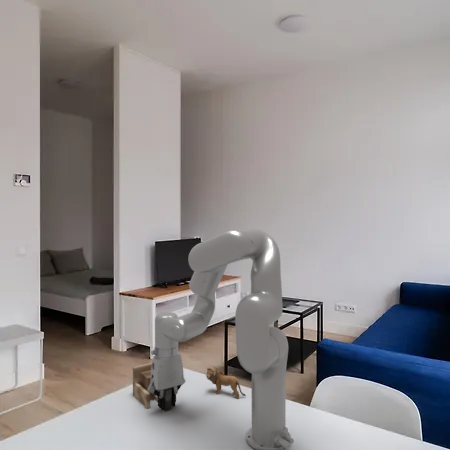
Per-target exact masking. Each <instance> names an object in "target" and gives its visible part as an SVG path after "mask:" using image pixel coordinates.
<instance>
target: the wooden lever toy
mask: <svg viewBox="0 0 450 450" xmlns="http://www.w3.org/2000/svg"><path fill="white" fill-rule="evenodd" d="M150 382H151V370H149V371H145V372H141V373H140V385H141V386H142V387H143V388H144V389H145V390H146V391H147V389H148V387H149V385H150ZM154 389H155V387H154ZM149 393H150V392H149ZM163 397H164V398H165V409H164V410H162V411H164V412H169V411H171V410H172V409H173V406H172V388H168V389H164V392H163ZM154 400H158V396H157V395H155V394H153V393H150V402H151V401H154Z"/></svg>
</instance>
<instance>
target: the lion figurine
mask: <svg viewBox="0 0 450 450" xmlns="http://www.w3.org/2000/svg"><path fill="white" fill-rule="evenodd" d="M206 370H207V371H206V376H205V377H206V379H207V380H208V381H210V382H211V383H212V384H213V385H215V389H216V391H215V393H214V394H215V395H219V394H220V392H221V391H222V386H224V387H230V388H231V390H232V391H233V392H232V394H233V395H235V399H236V400H238V399H239V398H240V394H241V395H242V396H243V397H246V396H247V395H246V394H245V393H243V392H242V388H241V385H240V382H239V380H238V378H237V377H236V376H234V375H233V376H232V375H225V374H224V372H223V371H222V370H221V369H218V368H217V367H214V366H210V367H208V368H207V369H206ZM239 392H240V393H239Z"/></svg>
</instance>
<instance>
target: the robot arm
mask: <svg viewBox="0 0 450 450" xmlns="http://www.w3.org/2000/svg"><path fill="white" fill-rule="evenodd" d="M187 259H188V260H187V261H188V266H189V268H190V269H191V270H192V271H193V274H192V276H191V279H190V281H189V283H188V287H189V290H190V291H191V292H192V293H193V294H195V295H196V296H197V297H196V301H195V303H194V306H193V308H192V311H191V312H190V313H187V314H184V315H181V316H178V314H176V313H175V312H171V311H165V312H159V313H157V314H156V315H155V318H154V349H153V350H151V351H150V352H151V355H152V356H153V357H152V361H151V363H152V367H151V382H150V385H149V387H148V389H147V391H148V392H150V393H153V394H155V395H157V396H158V399H157V406H158V408H159V409H160V410H162V411H163V410H164V409H165V398H164V397H163V392H164V389H168V388H172V408H175V407H176V403H177V394H178V393H179V390H180V388H181V387H182V386H183V385H184V384H185V383H186V379H185V378H184V376H185V375H184V366H183V364H184V363H183V359H182V355H181V353H180V352H179V343H184V342H186V341H189V340H191V339H193V338H195V337H197V336H199V335H201V334H203V333H204V332H205V331H206V330H207V328H208V326H209V324H210V322H211V321H212V319H213V315H214V313H215V311H216V296H215V294H216V292H217V289H219V288H218V287H219V286H220V282H221V280H222V278H223V277H224V274H225V272H226V269H227V267H228V265H230V264H232V263H236V262H239V261H243V260H247V259H248V260H249V259H251V260H252V265H251V268H250V269H251V270H250V293H249V294H247V295H245V296H244V297H243V298H241V299H240V301H239V302H238V304H237V306H236V308H235V315H234V316H235V317H234V318H235V319H234V320H235V343H236V344H235V345H236V347H235V348H236V355H237V359H238V362H239V364H240V367H242V368H243V369H244V370H245V371H246V372H248V373H250V374H251V427H250V428H249V429H248V430H247V431H246V434H245V440H246V443H247V444H248V445H249V446H250V447H252V448H253V449H255V450H290V449H291V447H292V444H294V442H295V439H294V438H292V436H291V433H290V432H289V428H288V427H287V426H286V425H287V424H286V421H287V420H286V411H287V410H286V405H287V404H286V403H287V402H286V398H287V397H286V392H287V391H286V387H287V383H286V382H287V379H286V378H287V364H288V363H287V362H288V357H289V356H288V355H289V342H288V338H287V336H286V334H285V333H284V332H283V331H282V330H281V329H280V328H278V327H276V326H271V325H272V324H274V323H275V322H277V321H278V320H279V319H280V318H281V317H282V314H283V309H284V308H283V292H282V291H283V290H282V289H283V288H282V277H281V276H282V275H281V273H282V271H281V254H280V250H279V246H278V244H277V242H276V241H275V239H274V238H273V237H272V236H271V235H270V234H269V233H266V232H265V231H264V230H262V229H256V228H243V229H242V228H241V229H232V230H231V229H230V230H227V231H225V232H222V233H220V234H218V235H216V236H212V237H211V238H209V239H207V240H204V241H202V242H199V243H197V244H196V245H195V246H193V247H192V248H191V250H190V252H189V254H188V258H187ZM154 387H155V389H154Z"/></svg>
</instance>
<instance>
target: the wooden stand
mask: <svg viewBox="0 0 450 450" xmlns="http://www.w3.org/2000/svg"><path fill="white" fill-rule="evenodd" d="M151 367H152V362H149V363H145V364H140V365H136V366H132V396H133V397H134V398H135V399H137V400H138V401H139V402H140V404H142V405H143V406H144V407H145V408H146V409H150V408H151V405H152V404H151V401H150V393H149V392H148V391H146V390H145V389H144V388H143V387H142V386H141V385H140V373H141V372H145V371H149V370H151Z"/></svg>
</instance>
